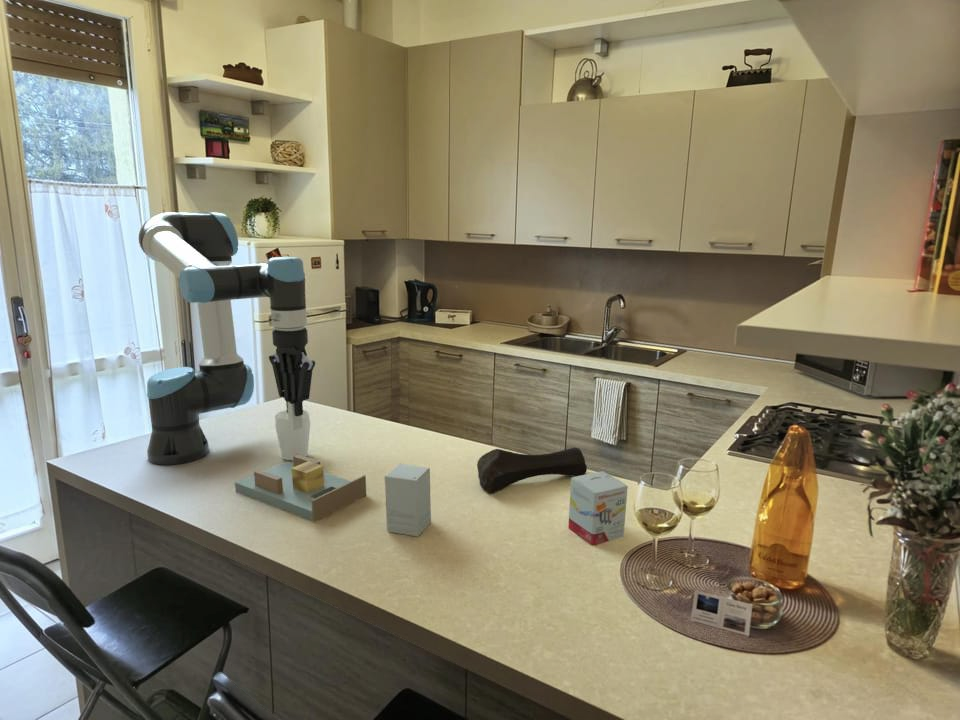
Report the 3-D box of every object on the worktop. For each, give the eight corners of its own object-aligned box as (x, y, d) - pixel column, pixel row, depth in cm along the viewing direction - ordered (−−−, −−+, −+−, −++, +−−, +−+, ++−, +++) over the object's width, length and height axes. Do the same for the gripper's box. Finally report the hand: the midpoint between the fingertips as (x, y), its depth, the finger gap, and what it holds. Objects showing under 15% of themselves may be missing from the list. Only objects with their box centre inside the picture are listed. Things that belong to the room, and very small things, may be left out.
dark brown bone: (479, 502, 150) (579, 496, 161) (492, 474, 143) (595, 469, 155) (467, 467, 157) (563, 463, 168) (479, 438, 151) (578, 437, 162)
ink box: (592, 546, 126) (594, 492, 123) (567, 528, 133) (569, 476, 131) (625, 537, 130) (629, 484, 127) (599, 519, 137) (602, 469, 134)
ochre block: (292, 488, 146) (291, 468, 145) (309, 480, 150) (308, 461, 149) (307, 493, 143) (306, 473, 142) (324, 485, 147) (323, 465, 146)
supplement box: (432, 521, 136) (431, 467, 133) (417, 537, 129) (416, 480, 126) (401, 516, 138) (399, 462, 135) (385, 531, 131) (383, 475, 128)
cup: (302, 463, 166) (299, 420, 163) (271, 461, 168) (268, 418, 165) (317, 451, 175) (315, 410, 172) (287, 449, 176) (285, 408, 174)
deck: (235, 491, 149) (233, 468, 148) (289, 469, 162) (287, 448, 161) (314, 522, 135) (312, 497, 134) (366, 495, 148) (365, 472, 147)
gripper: (256, 327, 140) (264, 427, 146) (296, 333, 133) (302, 438, 139) (283, 322, 146) (289, 418, 152) (322, 328, 139) (327, 429, 145)
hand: (295, 428), depth 145 cm, fingers closed
